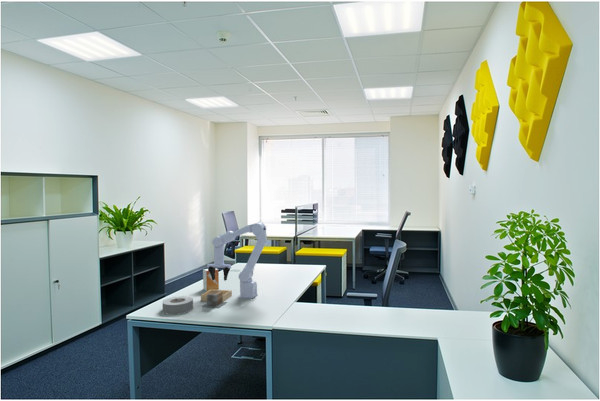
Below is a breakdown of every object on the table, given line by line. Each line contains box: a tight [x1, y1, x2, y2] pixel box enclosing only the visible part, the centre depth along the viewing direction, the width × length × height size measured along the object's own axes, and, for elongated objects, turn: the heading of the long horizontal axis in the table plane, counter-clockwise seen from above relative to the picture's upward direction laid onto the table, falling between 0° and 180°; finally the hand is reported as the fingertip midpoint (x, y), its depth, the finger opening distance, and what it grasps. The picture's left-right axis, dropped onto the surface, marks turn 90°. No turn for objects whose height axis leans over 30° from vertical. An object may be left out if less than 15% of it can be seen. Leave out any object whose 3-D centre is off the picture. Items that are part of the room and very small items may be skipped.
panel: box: [201, 301, 228, 309], centre depth 204 cm, size 10×10×1 cm
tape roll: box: [162, 295, 194, 315], centre depth 199 cm, size 15×15×5 cm
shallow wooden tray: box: [200, 289, 233, 302], centre depth 217 cm, size 13×12×4 cm
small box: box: [202, 268, 220, 292], centre depth 238 cm, size 8×6×13 cm
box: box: [206, 291, 224, 307], centre depth 205 cm, size 5×8×6 cm, turn 165°
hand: (219, 280), depth 223 cm, fingers open, 7 cm apart
